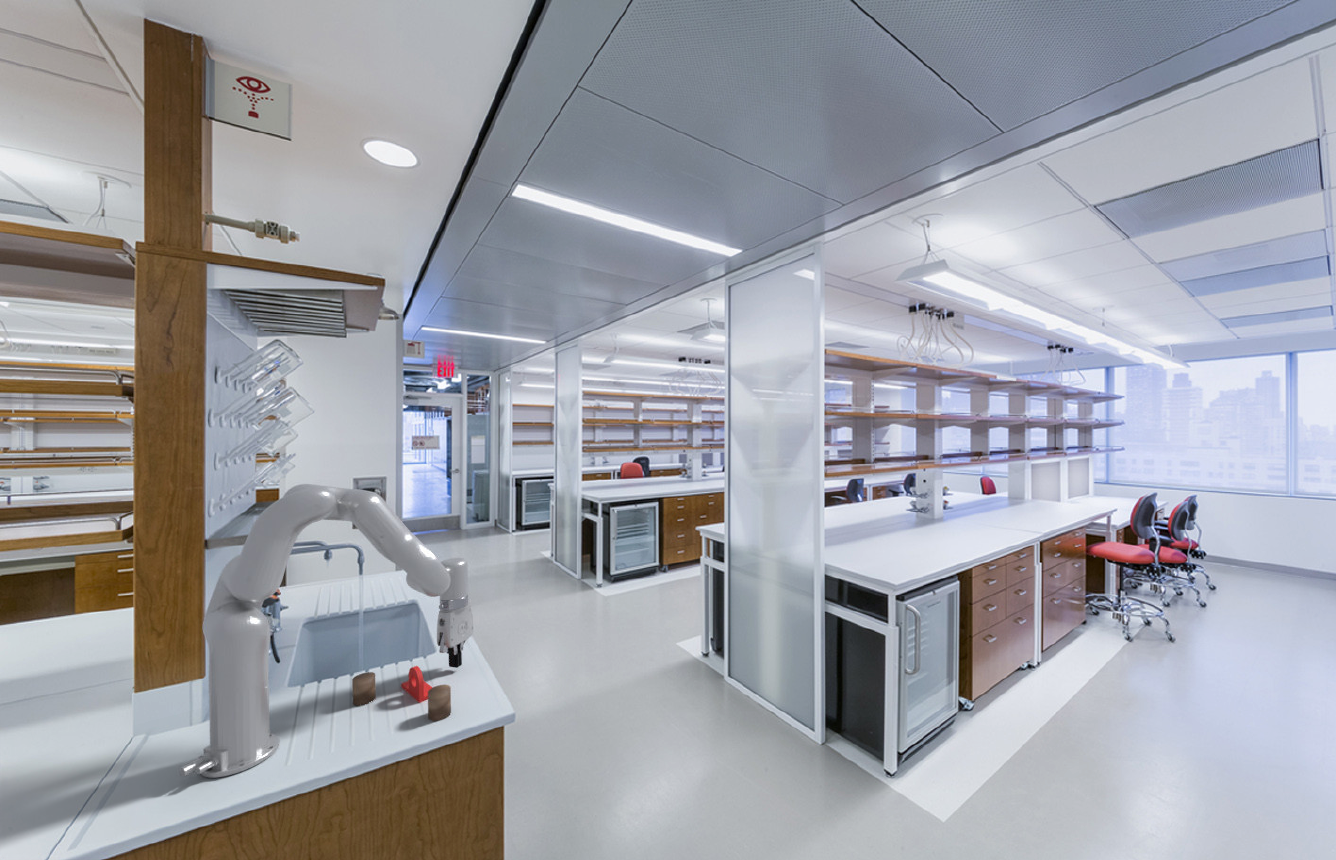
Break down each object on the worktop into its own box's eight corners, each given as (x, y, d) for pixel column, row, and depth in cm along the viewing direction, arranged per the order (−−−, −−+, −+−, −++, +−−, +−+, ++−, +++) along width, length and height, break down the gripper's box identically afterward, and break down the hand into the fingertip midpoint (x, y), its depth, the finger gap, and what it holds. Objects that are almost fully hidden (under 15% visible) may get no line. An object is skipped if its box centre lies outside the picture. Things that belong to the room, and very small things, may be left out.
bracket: (437, 695, 125) (436, 665, 125) (419, 703, 121) (418, 672, 121) (418, 680, 133) (418, 652, 133) (401, 687, 129) (400, 658, 129)
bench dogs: (440, 722, 113) (439, 697, 113) (347, 704, 121) (347, 680, 121) (455, 710, 117) (455, 686, 117) (365, 693, 126) (365, 671, 126)
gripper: (445, 613, 129) (446, 680, 129) (482, 594, 144) (483, 655, 144) (423, 610, 131) (424, 677, 131) (461, 592, 146) (462, 652, 146)
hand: (455, 665), depth 137 cm, fingers closed
